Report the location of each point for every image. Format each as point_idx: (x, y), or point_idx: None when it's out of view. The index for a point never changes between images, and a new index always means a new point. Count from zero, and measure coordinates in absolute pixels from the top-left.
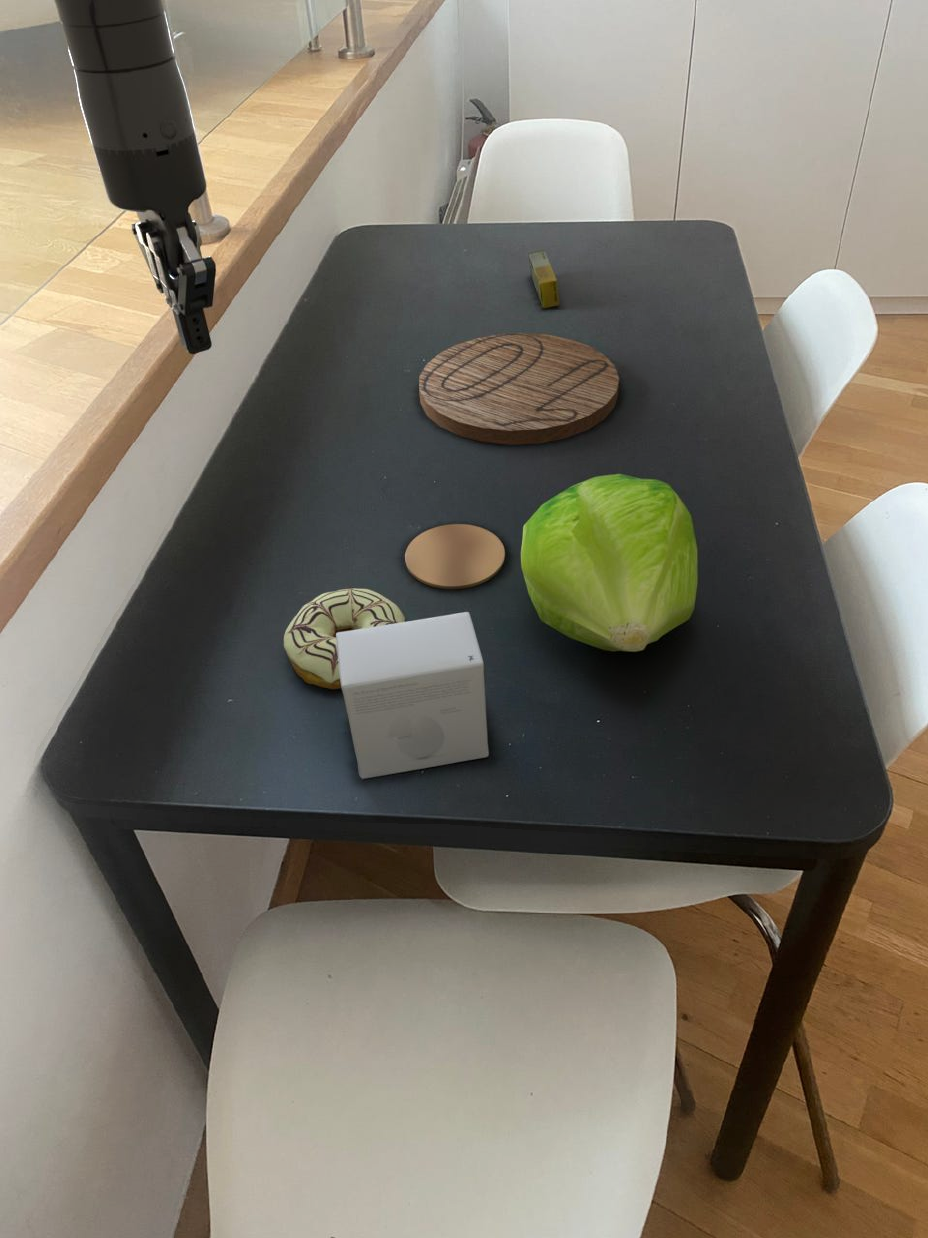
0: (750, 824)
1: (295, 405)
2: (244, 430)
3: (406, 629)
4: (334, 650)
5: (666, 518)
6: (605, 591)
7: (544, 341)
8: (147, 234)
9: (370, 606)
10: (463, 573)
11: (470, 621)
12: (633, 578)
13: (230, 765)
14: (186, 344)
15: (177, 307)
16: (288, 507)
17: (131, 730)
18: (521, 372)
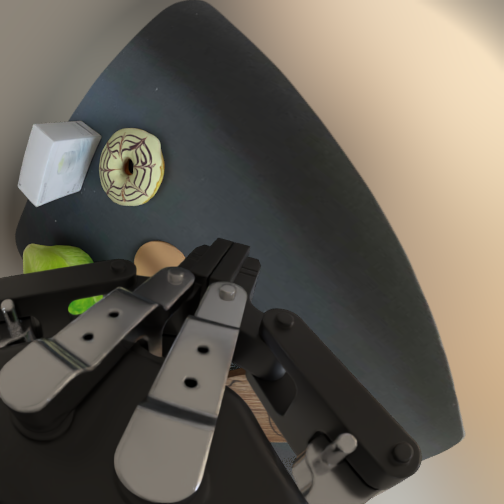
0: (21, 219)
1: (394, 338)
2: (408, 295)
3: (39, 173)
4: (110, 149)
5: None
6: (28, 260)
7: (282, 438)
8: (11, 400)
9: (122, 190)
10: (144, 260)
11: (32, 202)
12: (24, 271)
13: (123, 71)
14: (213, 243)
15: (156, 273)
16: (297, 244)
17: (181, 36)
18: (269, 418)
